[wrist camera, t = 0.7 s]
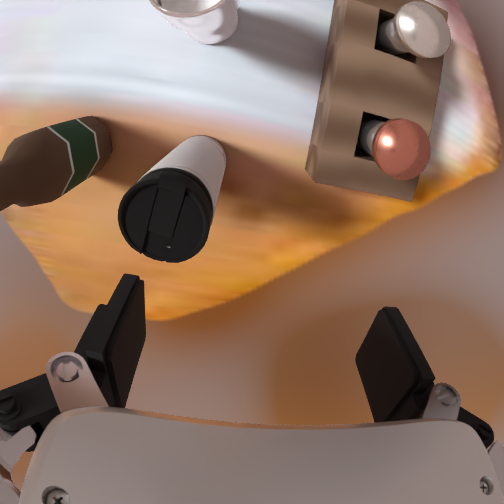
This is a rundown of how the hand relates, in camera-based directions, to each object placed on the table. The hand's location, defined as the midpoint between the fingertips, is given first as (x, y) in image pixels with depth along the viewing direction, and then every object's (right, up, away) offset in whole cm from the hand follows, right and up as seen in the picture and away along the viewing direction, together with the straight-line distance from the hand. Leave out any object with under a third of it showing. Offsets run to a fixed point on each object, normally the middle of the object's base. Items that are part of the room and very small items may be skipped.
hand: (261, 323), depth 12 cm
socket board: (+14, +22, +21) cm, 33 cm away
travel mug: (-6, +14, +25) cm, 29 cm away
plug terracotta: (+13, +16, +20) cm, 28 cm away
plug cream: (+15, +26, +14) cm, 33 cm away
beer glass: (-5, +29, +17) cm, 34 cm away
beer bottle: (-21, +16, +23) cm, 35 cm away
